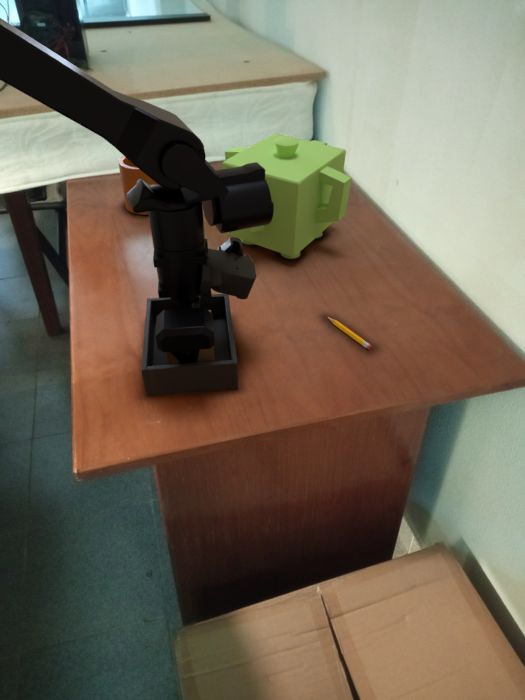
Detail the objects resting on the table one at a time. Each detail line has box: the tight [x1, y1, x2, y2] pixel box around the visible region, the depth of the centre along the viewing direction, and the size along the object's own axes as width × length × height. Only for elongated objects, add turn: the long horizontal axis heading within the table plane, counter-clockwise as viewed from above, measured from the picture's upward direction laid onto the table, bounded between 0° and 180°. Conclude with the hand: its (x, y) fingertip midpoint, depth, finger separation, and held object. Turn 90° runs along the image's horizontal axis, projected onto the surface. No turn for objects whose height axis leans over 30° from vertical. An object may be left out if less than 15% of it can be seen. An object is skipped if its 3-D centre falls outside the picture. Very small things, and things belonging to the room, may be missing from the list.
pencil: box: [327, 316, 373, 351], centre depth 70 cm, size 1×9×1 cm, turn 37°
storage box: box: [221, 132, 353, 260], centre depth 84 cm, size 25×23×17 cm
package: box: [167, 310, 215, 364], centre depth 64 cm, size 6×4×5 cm
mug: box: [117, 155, 157, 216], centre depth 96 cm, size 9×12×9 cm
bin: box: [141, 293, 239, 397], centre depth 65 cm, size 11×14×4 cm
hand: (190, 344), depth 65 cm, fingers open, 9 cm apart
